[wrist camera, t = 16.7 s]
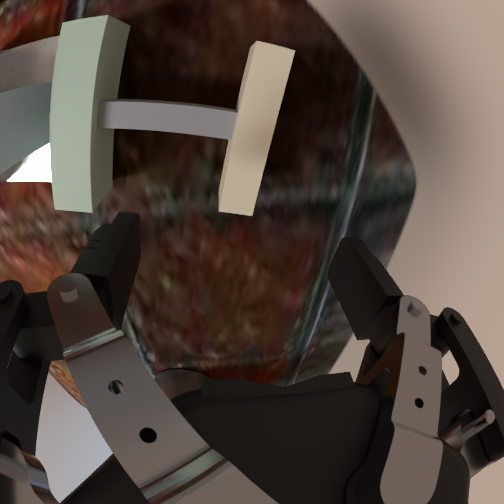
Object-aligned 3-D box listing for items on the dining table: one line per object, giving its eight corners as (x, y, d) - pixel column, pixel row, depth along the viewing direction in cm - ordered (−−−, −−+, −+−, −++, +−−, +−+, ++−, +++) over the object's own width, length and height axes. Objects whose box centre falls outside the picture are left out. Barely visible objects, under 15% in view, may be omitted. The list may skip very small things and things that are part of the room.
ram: (243, 202, 20) (248, 230, 17) (78, 184, 17) (54, 209, 14) (283, 42, 13) (300, 34, 10) (91, 29, 10) (62, 22, 7)
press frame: (109, 181, 19) (79, 217, 14) (-7, 177, 16) (-43, 207, 11) (126, 28, 12) (92, 14, 7) (-7, 56, 9) (-50, 65, 4)
